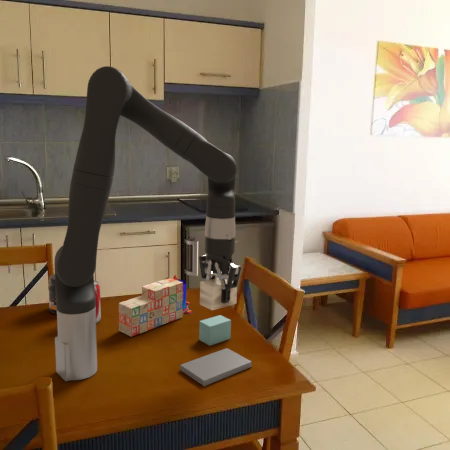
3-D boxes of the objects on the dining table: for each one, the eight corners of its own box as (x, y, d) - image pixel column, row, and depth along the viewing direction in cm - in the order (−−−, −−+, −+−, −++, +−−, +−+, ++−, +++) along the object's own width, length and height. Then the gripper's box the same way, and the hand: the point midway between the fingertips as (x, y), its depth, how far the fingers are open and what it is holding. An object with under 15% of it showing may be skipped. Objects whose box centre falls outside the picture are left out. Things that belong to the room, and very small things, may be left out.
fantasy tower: (157, 303, 170) (157, 271, 168) (190, 302, 172) (191, 270, 170) (158, 315, 159) (159, 281, 156) (194, 314, 161) (194, 280, 158)
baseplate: (204, 386, 116) (204, 380, 116) (180, 370, 123) (180, 364, 123) (251, 366, 126) (251, 361, 126) (226, 352, 134) (227, 348, 133)
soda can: (83, 328, 147) (82, 288, 145) (73, 320, 152) (72, 281, 150) (104, 322, 152) (104, 283, 149) (94, 315, 157) (93, 277, 155)
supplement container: (45, 308, 162) (43, 274, 160) (75, 302, 168) (74, 269, 166) (54, 318, 154) (53, 282, 152) (86, 311, 160) (85, 277, 158)
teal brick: (209, 346, 138) (210, 326, 137) (199, 340, 142) (199, 321, 140) (230, 338, 143) (231, 320, 142) (219, 333, 147) (220, 314, 146)
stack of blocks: (131, 337, 141) (131, 298, 139) (118, 331, 145) (117, 293, 143) (182, 317, 157) (183, 281, 155) (170, 311, 161) (170, 277, 159)
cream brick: (212, 310, 117) (212, 287, 116) (199, 304, 121) (200, 281, 120) (236, 303, 122) (237, 281, 121) (223, 297, 126) (224, 276, 125)
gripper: (190, 230, 121) (189, 294, 124) (227, 241, 110) (225, 311, 113) (213, 227, 126) (211, 289, 129) (251, 237, 115) (248, 304, 118)
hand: (218, 299), depth 121 cm, fingers closed on cream brick, 5 cm apart
